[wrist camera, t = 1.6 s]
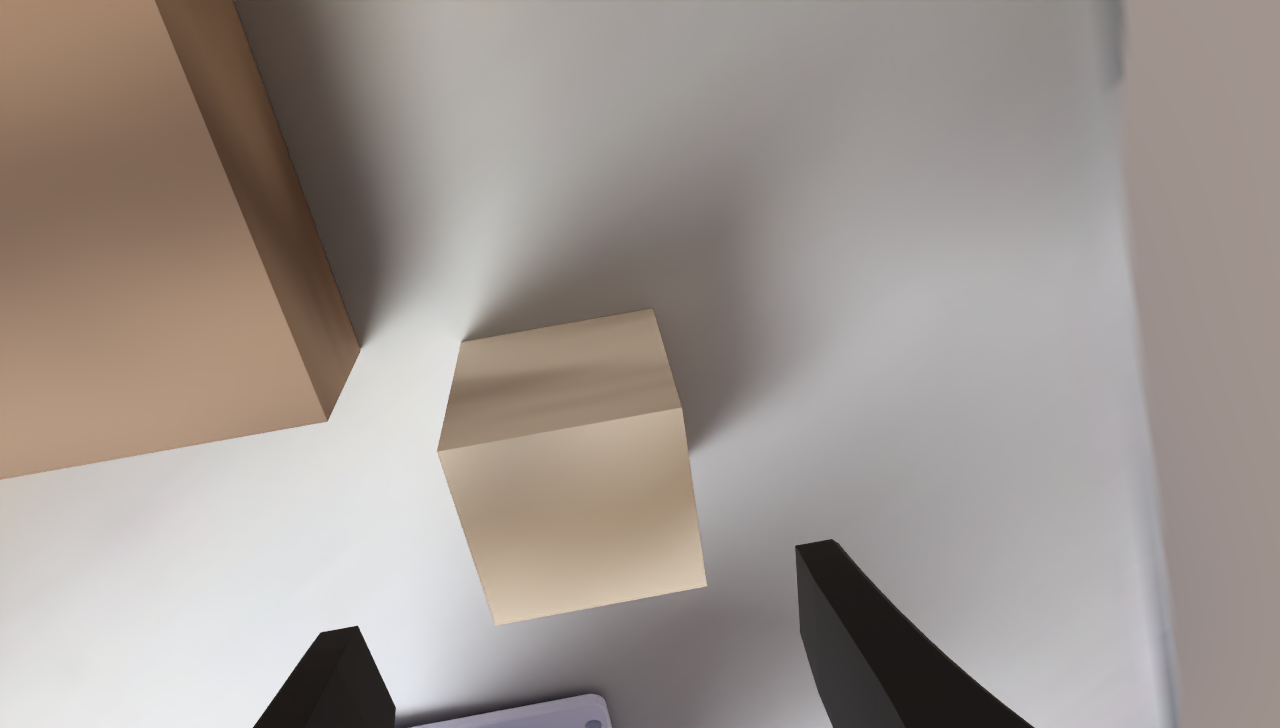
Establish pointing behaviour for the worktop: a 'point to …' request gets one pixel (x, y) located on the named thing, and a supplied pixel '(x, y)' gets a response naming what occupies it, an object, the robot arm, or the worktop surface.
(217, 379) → the walnut base
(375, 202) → the worktop surface
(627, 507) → the birch block
